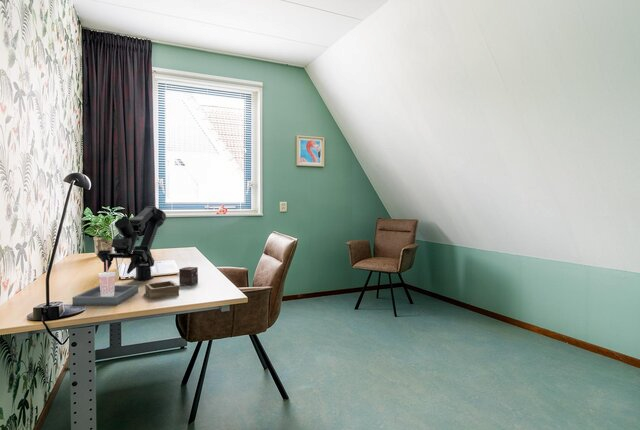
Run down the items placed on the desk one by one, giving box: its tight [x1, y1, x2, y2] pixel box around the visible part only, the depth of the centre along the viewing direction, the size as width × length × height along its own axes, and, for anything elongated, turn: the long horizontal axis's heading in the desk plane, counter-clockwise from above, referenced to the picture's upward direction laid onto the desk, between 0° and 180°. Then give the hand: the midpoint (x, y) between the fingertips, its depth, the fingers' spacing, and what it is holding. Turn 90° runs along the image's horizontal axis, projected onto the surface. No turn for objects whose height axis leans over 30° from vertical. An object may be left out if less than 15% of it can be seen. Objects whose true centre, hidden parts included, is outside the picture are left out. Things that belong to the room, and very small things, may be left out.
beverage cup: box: [97, 260, 117, 297], centre depth 151 cm, size 6×6×14 cm
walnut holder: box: [144, 280, 180, 300], centre depth 157 cm, size 10×10×4 cm
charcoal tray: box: [72, 284, 139, 306], centre depth 151 cm, size 18×16×3 cm
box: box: [178, 266, 199, 287], centre depth 175 cm, size 6×6×7 cm
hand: (116, 273), depth 158 cm, fingers open, 9 cm apart
